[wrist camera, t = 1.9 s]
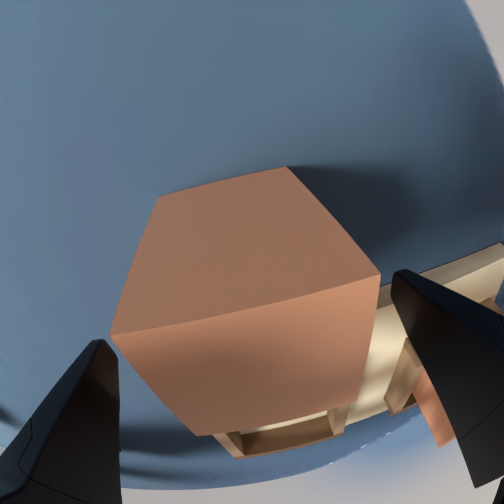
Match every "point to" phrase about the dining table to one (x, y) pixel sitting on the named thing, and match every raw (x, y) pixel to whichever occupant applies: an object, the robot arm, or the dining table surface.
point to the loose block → (247, 305)
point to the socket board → (384, 369)
